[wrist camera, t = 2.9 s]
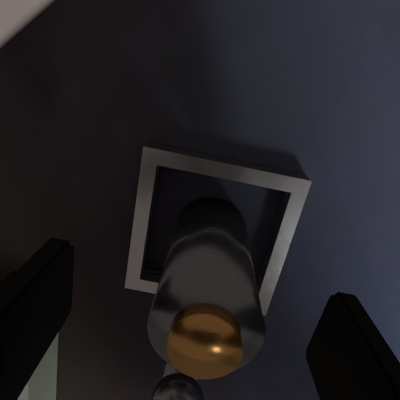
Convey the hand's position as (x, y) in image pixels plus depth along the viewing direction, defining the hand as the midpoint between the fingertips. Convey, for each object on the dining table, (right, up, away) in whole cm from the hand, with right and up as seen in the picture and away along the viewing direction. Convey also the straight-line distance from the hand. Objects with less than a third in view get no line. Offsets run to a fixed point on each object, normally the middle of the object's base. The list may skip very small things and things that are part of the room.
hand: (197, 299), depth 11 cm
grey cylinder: (+1, +2, +7) cm, 7 cm away
